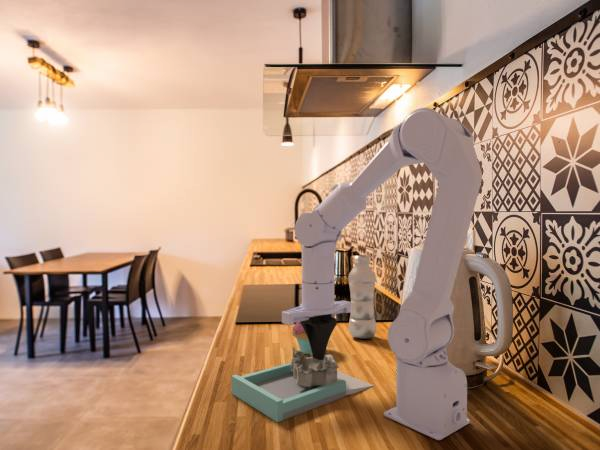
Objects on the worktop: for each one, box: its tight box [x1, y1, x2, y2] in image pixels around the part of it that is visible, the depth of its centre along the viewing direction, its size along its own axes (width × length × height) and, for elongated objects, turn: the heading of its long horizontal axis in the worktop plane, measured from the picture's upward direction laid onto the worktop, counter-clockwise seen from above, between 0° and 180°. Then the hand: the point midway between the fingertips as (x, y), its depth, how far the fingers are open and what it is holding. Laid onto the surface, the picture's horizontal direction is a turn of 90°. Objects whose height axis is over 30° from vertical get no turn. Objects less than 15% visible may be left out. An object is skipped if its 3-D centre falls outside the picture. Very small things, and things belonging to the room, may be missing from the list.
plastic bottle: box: [347, 254, 377, 340], centre depth 104 cm, size 6×7×20 cm
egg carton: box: [290, 346, 340, 387], centre depth 75 cm, size 11×8×4 cm
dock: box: [230, 361, 375, 423], centre depth 73 cm, size 13×21×4 cm, turn 129°
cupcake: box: [291, 322, 312, 355], centre depth 94 cm, size 9×8×12 cm
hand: (318, 358), depth 75 cm, fingers closed, pressing on egg carton
